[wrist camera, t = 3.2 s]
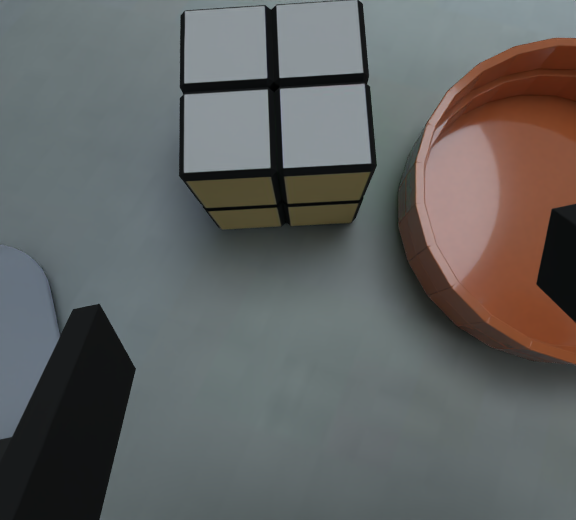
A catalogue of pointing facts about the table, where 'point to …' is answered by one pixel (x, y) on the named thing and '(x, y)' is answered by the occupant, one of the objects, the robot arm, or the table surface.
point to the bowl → (496, 198)
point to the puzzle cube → (276, 113)
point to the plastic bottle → (22, 333)
